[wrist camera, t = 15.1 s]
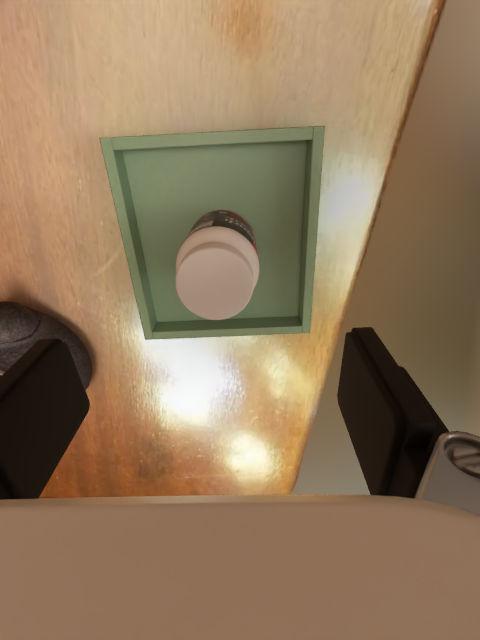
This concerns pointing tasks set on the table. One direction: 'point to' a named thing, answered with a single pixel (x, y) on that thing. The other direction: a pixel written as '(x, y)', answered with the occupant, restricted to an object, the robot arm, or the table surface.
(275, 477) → the table surface
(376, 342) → the robot arm
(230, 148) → the tray
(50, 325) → the teapot
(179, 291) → the pill bottle
